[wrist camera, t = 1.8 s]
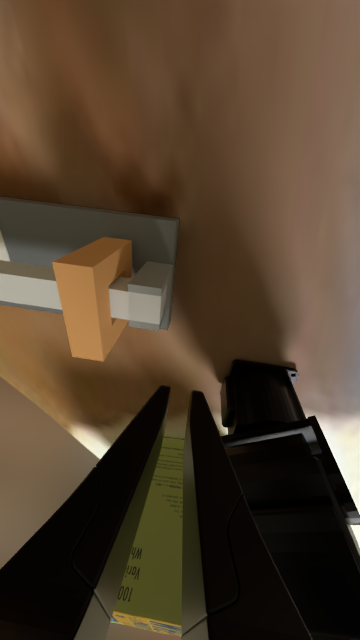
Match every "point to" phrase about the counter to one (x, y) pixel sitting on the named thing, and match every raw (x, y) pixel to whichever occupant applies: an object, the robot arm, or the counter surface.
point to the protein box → (157, 552)
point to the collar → (92, 295)
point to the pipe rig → (74, 233)
